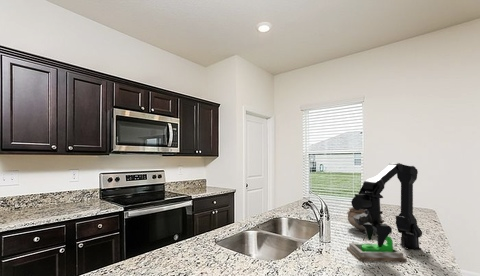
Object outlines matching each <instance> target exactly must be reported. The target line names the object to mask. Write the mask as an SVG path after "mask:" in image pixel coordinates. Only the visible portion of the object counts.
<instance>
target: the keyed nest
mask: <svg viewBox="0 0 480 276" xmlns="http://www.w3.org/2000/svg"><path fill="white" fill-rule="evenodd" d="M362 245H378V242H375V243H373V242H372V243H369V242H368V243H366V242H361V243H359V242H358V243H356V242H349V244H348V246H347V247H346V250H347V251H348V252H349V253H350V254H351V255H353V256H354V257H355V258H356V259H357V261H368V262H369V261H371V262H372V261H377V262H379V261H382V262H390V261H391V262H408V258H406V257H405V256H404V253H403V252H402V251H400V250H398V249H397V248H395V247H394V246H393V252H367V251H362Z"/></svg>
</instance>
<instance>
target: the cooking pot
mask: <svg viewBox="0 0 480 276" xmlns="http://www.w3.org/2000/svg"><path fill="white" fill-rule="evenodd" d="M364 210H365V209H364ZM364 210H356V209H354V208H353V206H351V207H348V211H347V213H346V214H347V221H348V223H349V224H350V225H351V226H352V227H354V228H355V229H357V230H358V231H360V232H363V233H366V231H365V228H364V227H363V226H362V225H360V226H359V225H358V224H356V223H355V220H354V218H353V217H354V216H356V215H359V214H362V213H364ZM381 220H382V221H383V223H384V222H385V219H383V218H382V216H381ZM383 223H380V224H383Z"/></svg>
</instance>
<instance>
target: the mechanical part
mask: <svg viewBox="0 0 480 276" xmlns="http://www.w3.org/2000/svg"><path fill="white" fill-rule="evenodd" d="M385 241H386V243H383V245H382V247H379V246H378V245H362V251H367V252H393V247H394V246H393V239H392V237H390V236H389V235H388V236H387V238H386V239H385Z"/></svg>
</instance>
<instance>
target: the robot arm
mask: <svg viewBox="0 0 480 276" xmlns="http://www.w3.org/2000/svg"><path fill="white" fill-rule="evenodd" d="M418 172H419V171H418V169H417V168H416V167H415V166H414V165H407V164H403V163H400V162H390V163H389V164H388V165H387V166H386V167H385V168H384V169H383V170H382V171H381V172H379V173H378V174H377V175H375V176H374V177H370V178H367V179H366V180H364V181H363V183H362V186H361V187H360V190H359V192H358V193H355V194H354V197H353V198H352V200H351V201H350V202H351V207H353V208H354V209H356V210H364V209H365V210H364V213H362V214H359V215H356V216H354V217H353V218H354V220H355V223H356V224H358V225H359V226H360V225H362V226H363V227H364V228H365V231H366V232H365V233H366V237H367V239H368V241H372V237H373V235H374V234H375V235H376V240H377V241H376V243H378V246H379V247H382V245H383V244H385V243H384V242H385V241H386V240H385V239H386V238H387V236H389V235H390V234H392V233H393V231H392V230H393V228H392V227H391V226H390V225H388V224H386V223H384V222H383V221H382V220H383V219H382V220H381V217H382V215H383V214H384V213H383V211H381V199H383V198H384V196H383V195H381V193H382V192H383V190H384V189H385V186H386V184H387V182H389V181H390V180H391V179H392V178H394V177H395V176H396V178H397V179H398V181H399V182H400V213H399V214H398V215H395V225H396V229H397V232H398V233H399V234H401V236H400V246H401V247H403V248H405V249H406V250H422V248H421V247H420V241H419V240H420V238H421V237H422V236H423V231H422V229H421V228H420V227H419V226H418V221H417V218H416V217H415V215H414V213H413V212H414V211H413V210H414V200H413V199H414V183H415V182H416V181H417V179H418V174H419V173H418ZM380 223H382V224H380Z"/></svg>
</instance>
